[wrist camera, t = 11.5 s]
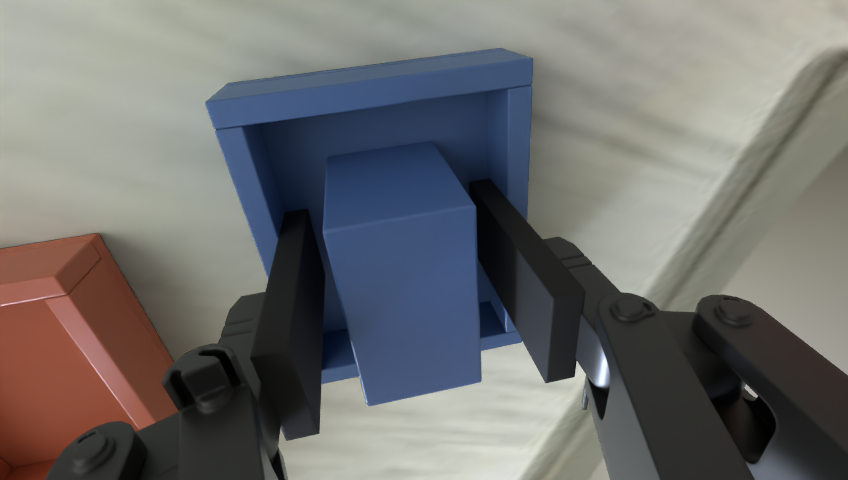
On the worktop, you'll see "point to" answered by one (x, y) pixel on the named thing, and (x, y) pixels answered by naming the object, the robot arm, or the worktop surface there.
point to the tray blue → (368, 130)
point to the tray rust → (71, 352)
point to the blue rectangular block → (404, 269)
